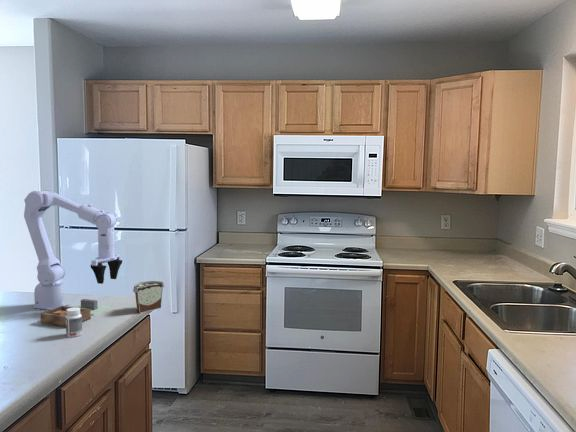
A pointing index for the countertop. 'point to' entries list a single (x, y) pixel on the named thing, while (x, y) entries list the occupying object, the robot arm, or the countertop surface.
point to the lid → (93, 306)
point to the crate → (62, 316)
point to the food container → (148, 295)
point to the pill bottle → (73, 322)
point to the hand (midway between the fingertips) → (107, 281)
